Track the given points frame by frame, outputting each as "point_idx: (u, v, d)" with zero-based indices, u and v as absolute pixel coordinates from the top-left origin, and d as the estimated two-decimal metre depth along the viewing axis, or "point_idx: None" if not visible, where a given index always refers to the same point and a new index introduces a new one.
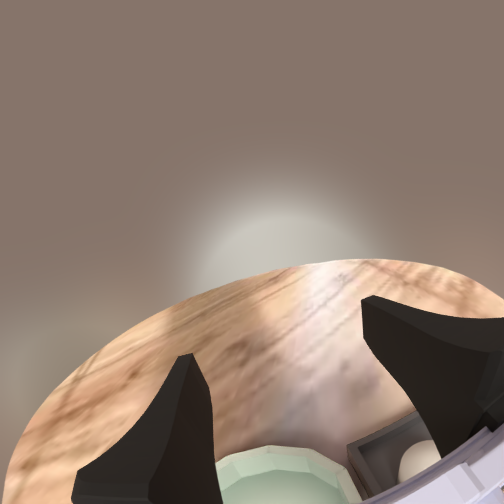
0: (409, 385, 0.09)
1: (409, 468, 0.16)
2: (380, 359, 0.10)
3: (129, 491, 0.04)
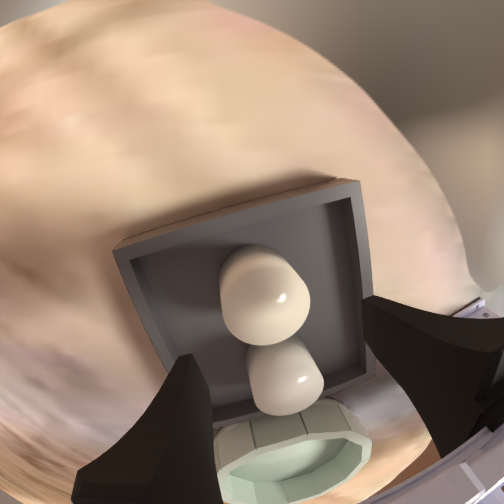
0: (409, 385, 0.09)
1: (290, 408, 0.17)
2: (380, 359, 0.10)
3: (129, 491, 0.04)
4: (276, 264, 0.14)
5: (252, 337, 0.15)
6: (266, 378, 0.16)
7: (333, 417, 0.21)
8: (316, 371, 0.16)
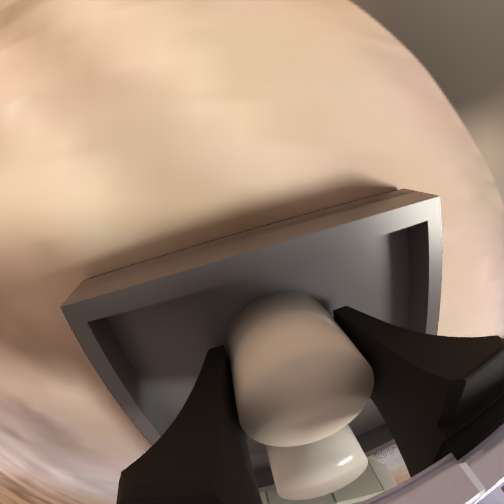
0: (379, 400, 0.08)
1: (322, 491, 0.11)
2: None
3: (191, 488, 0.04)
4: (329, 342, 0.08)
5: (283, 439, 0.08)
6: (296, 474, 0.10)
7: (363, 477, 0.15)
8: (361, 456, 0.10)
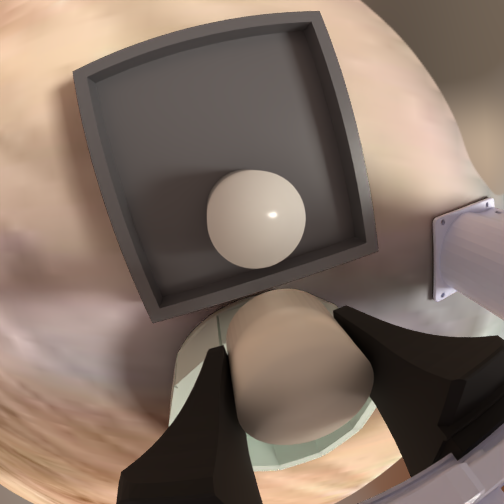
0: (379, 400, 0.08)
1: (262, 254, 0.14)
2: None
3: (191, 488, 0.04)
4: (329, 338, 0.08)
5: (282, 437, 0.08)
6: (222, 189, 0.12)
7: (330, 313, 0.18)
8: (291, 187, 0.13)
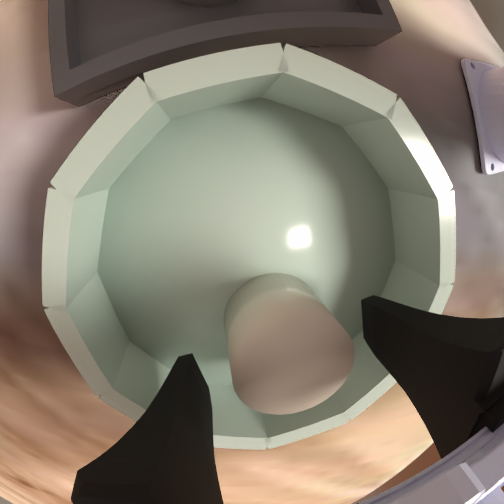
0: (409, 385, 0.09)
1: None
2: (381, 359, 0.10)
3: (129, 491, 0.04)
4: (312, 312, 0.09)
5: (272, 406, 0.10)
6: None
7: None
8: None
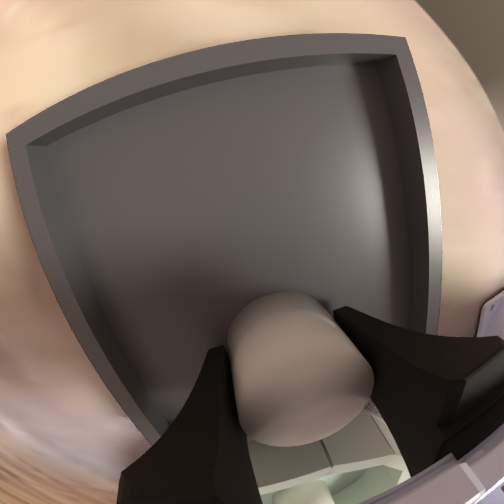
0: (379, 400, 0.08)
1: (309, 433, 0.09)
2: None
3: (191, 488, 0.04)
4: None
5: None
6: (262, 380, 0.07)
7: (367, 435, 0.13)
8: (364, 362, 0.08)
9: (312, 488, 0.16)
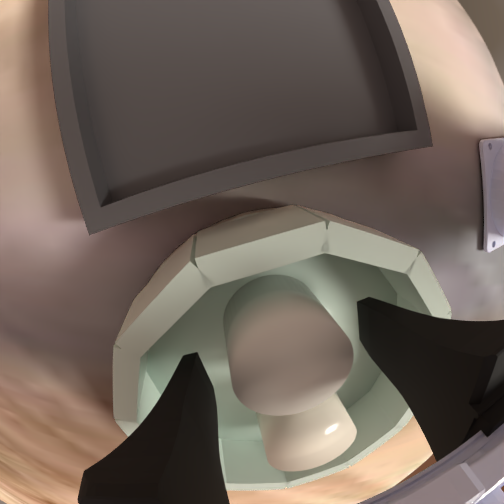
0: (405, 387, 0.09)
1: (296, 402, 0.10)
2: (376, 361, 0.10)
3: (138, 491, 0.04)
4: (328, 413, 0.11)
5: (294, 467, 0.12)
6: (252, 345, 0.09)
7: (375, 231, 0.11)
8: (343, 334, 0.09)
9: None
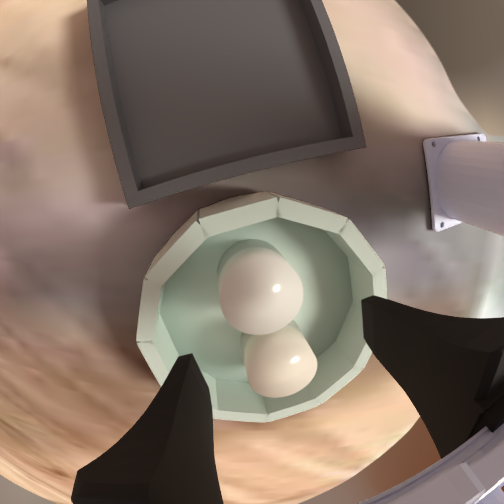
0: (409, 385, 0.09)
1: (265, 324, 0.16)
2: (380, 359, 0.10)
3: (129, 491, 0.04)
4: (292, 340, 0.17)
5: (270, 392, 0.18)
6: (233, 274, 0.15)
7: (319, 207, 0.17)
8: (293, 271, 0.15)
9: None
